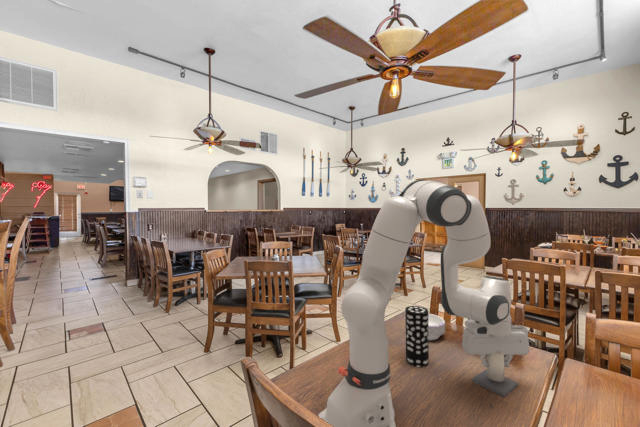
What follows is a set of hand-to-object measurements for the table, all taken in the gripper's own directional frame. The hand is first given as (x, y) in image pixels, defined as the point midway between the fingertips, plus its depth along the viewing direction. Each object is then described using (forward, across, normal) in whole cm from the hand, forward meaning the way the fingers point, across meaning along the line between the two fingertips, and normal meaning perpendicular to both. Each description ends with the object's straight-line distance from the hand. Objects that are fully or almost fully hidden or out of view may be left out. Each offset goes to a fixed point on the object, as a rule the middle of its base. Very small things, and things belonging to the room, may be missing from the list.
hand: (495, 366), depth 97 cm
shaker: (+4, 0, 0) cm, 4 cm away
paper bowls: (+6, +11, -36) cm, 38 cm away
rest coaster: (+6, 0, 0) cm, 6 cm away
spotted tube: (+6, +22, -14) cm, 27 cm away
